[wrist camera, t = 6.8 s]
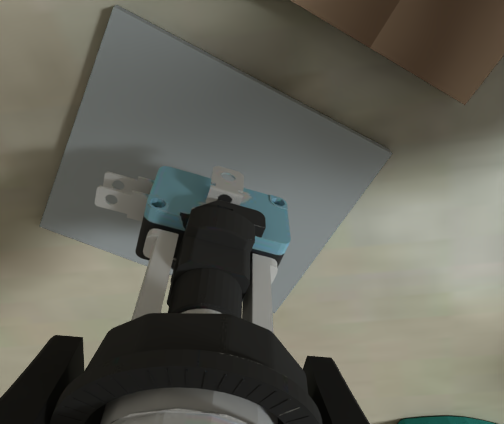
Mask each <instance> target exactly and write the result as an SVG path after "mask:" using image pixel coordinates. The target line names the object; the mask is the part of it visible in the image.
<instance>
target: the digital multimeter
mask: <svg viewBox="0 0 504 424" xmlns="http://www.w3.org/2000/svg"><path fill="white" fill-rule="evenodd" d="M398 424H496V423H492V422H488V421H483V420H478V419H472V418H467V417H452V416H439V417H418V418H408V419H402V420H400V421H399V423H398Z"/></svg>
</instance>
